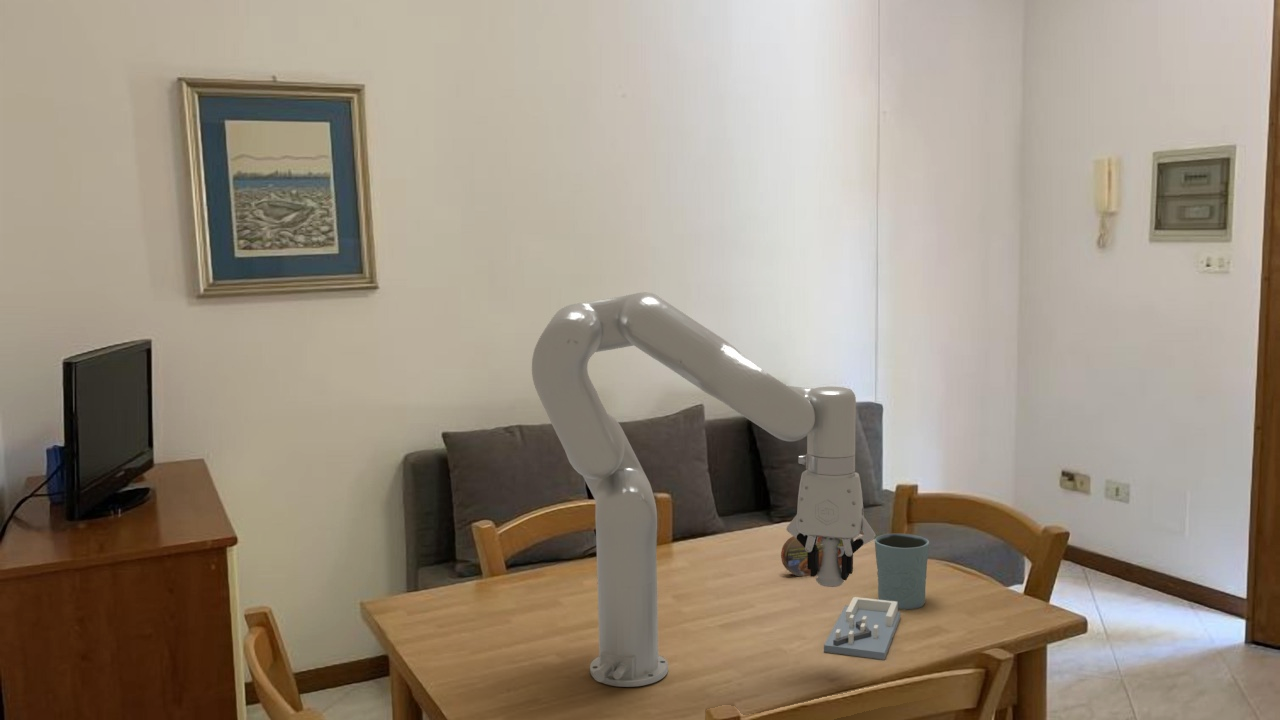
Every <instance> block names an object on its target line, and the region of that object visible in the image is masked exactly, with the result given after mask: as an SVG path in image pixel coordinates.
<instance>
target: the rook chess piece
mask: <svg viewBox="0 0 1280 720" xmlns="http://www.w3.org/2000/svg"><path fill="white" fill-rule="evenodd" d="M820 541H821V543H822V544H823V548H822V551H823V557H822V563H821V566H820V567H819V568H820V569H819V570H818V571H817V575H816V576H817V577H816V578H815V580H816V583H818V585H820V586H822V587H828V588H829V587H830V588H837V587H840V586H842V585H843V584H844V581H845V580H843V579H841V572H842V569H841V568H840V567H839V562H838V551H839V549H838V544H839V543H840V542H841V541H840V539H839V538H828V537H822V538H821V539H820Z"/></svg>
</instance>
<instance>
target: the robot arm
mask: <svg viewBox="0 0 1280 720" xmlns="http://www.w3.org/2000/svg"><path fill="white" fill-rule="evenodd" d="M633 346H634V347H635V348H637V349H639V350H640V351H641V352H642V353H644V354H647V356H649V357H651V358H652V359H654V360H655V361H657V362H659V363H660V364H662V365H663V366H665V367H667V368H668V369H670V370H671V371H673V372H674V373H676V374H677V375H679V376H680V377H682V378H683V379H685V380H686V381H688V382H689V383H691V384H692V385H694V386H695V387H697V388H698V389H699V390H701V391H703V392H704V393H705V394H708V395H709V396H711V397H713V398H715V399H716V400H719V401H720V402H722V403H723V404H725V405H726V406H728V407H730V409H733V410H734V411H735V412H736V413H738V414H740V415H741V416H743V417H744V418H746V419H747V420H749V421H751V422H752V423H753V424H755V425H757V426H758V427H760V428H762V430H765V431H766V432H767V433H769V434H770V435H772V436H774V437H775V438H777V439H779V440H781V441H785V442H797V441H800V440H802V439H804V438H805V437H807V438H806V439H807V443H806V446H807V447H806V448H807V449H806V450H807V451H806V452H807V453H806V454H803V455H798V459H797V461H798V462H797V463H798V464H802V465H803V466H805V469H806V470H804V471H802V473H801V476H800V482H799V487H798V495H797V496H798V497H797V507H796V508H797V509H796V511H797V512H796V515H795V516H794V517H793V519H792V520H791V521H790V523H788V525H787V527H786V528H785V530H786V531H787V532H788V533H789V534H791V536H792V537H793V536H794V537H796V538H797V540H798V541H799V542H800V543H801V544H802V545H803V546H804V548H805V550H806V551H807V552H808V553H807V568H808V569H809V570H811V575H810V577H813V578H814V577H816V576H817V575H816V574H817V571H818V570H819V549H818V548H817V545H816V542H817V538H818V537H828V538H839V539H842V541H843V546H844V554H843V555H842V569H841V571H842V572H841V579H843V580H844V581H847V579H848V578H849V577H850V575H852V574H853V571H854V570H853V569H854V554H855V552H856V551H857V552H858V550H859V549H860V548H861V547H863V546H864V545H867V544H868V543H870V542H871V541H873V540H875V538H876V537H877V536H876V535H877V534H876V533H875V531H874V530H873V528H872V527H871V525H870V524H869V522H868V520H867V519H866V517H865V516H864V504H863V502H864V499H863V491H862V483H861V477H860V474H859V472H856V425H857V424H856V421H857V419H856V418H857V417H856V416H857V415H856V414H857V401H856V394H855V392H854V391H853V390H852V389H850V388H847V387H841V386H818V387H815V388H813V387H801V386H794V385H793V386H792V385H786V384H785V383H783V382H781V381H780V380H779V379H777V378H776V377H775V376H773V375H771V374H769V373H768V372H767V371H765V370H764V369H762V368H761V367H759V366H758V365H756V364H755V363H754V362H753V361H751V360H750V359H749V358H748V357H746V356H745V355H744V354H743V353H742V352H740V350H738V348H736V347H735V346H734V345H732V344H731V343H729V342H728V341H727V340H726V339H724V338H722V337H721V336H720V335H717V334H716V333H715V332H713V331H712V330H710V329H708V328H707V327H705V326H704V325H702V324H701V323H699V321H696V320H695V319H693V318H691V317H690V316H688V315H687V314H686V313H684V312H682V311H681V310H680V309H678V308H677V307H675V306H673V305H672V304H671V303H669V302H667V301H666V300H664V299H663V298H662V297H660V296H658V295H656V294H654V293H653V292H643V291H642V292H637V293H632V294H628V295H627V294H626V295H621V296H617V297H616V296H615V297H611V298H603V299H597V300H592V301H586V302H585V301H584V302H579V303H573V304H569V305H566V306H564V307H562V308H561V309H559V310H558V311H557V312H556V313H555V314H554V315H553V317H551V319H550V321H549V323H548V324H547V325H546V327H545V328H544V330H543V332H542V333H541V335H540V336H539V338H538V341H537V343H536V345H535V347H534V350H533V354H532V359H531V375H532V381H533V385H534V387H535V391H536V393H537V395H538V397H539V400H540V402H541V404H542V406H543V409H544V410H545V412H546V414H547V417H548V419H549V421H550V424H551V425H552V427H553V429H554V432H555V434H556V436H557V437H558V439H559V442H560V443H561V445H562V448H563V450H564V451H565V454H566V457H567V459H568V462H569V463H570V465H571V467H572V468H573V470H575V471H576V472H577V473H578V474H579V475H581V477H583V479H584V482H585V483H586V485H587V488H588V489H589V490H590V493H591V495H592V497H593V499H594V501H595V514H594V515H595V535H596V536H595V537H596V538H595V540H596V544H595V545H596V572H597V573H596V577H597V578H596V579H597V602H598V603H597V607H598V608H597V609H598V613H597V614H598V649H599V654H598V656H597V657H595V658H594V659H593V660H592V661H591V663H590V664H589V665H590V666H589V672H590V676H592V678H593V679H594V680H595V681H596V682H598V683H601V684H604V685H607V686H612V687H619V688H633V687H634V688H636V687H643V686H649V685H651V684H655V683H656V682H658V681H661V680H662V679H664V677H666V675H667V674H668V672H669V664H668V661H667V659H666V658H665V657H663V656H662V655H660V654H659V633H658V632H659V631H658V630H659V629H658V628H659V626H658V625H659V623H658V574H657V573H658V572H657V569H658V567H657V540H658V539H657V537H658V536H657V535H658V511H657V503H656V499H655V497H654V496H655V495H654V493H653V489H652V486H651V483H650V481H649V479H648V477H647V475H646V473H645V471H644V468H643V467H642V465H641V463H640V461H639V459H638V457H637V454H635V453H636V452H635V451H634V450H633V448H632V445H631V444H630V442H629V439H628V437H627V435H626V434H625V431H624V429H623V427H622V426H621V424H620V423H619V422H618V420H617V419H616V418H614V417H613V416H612V415H611V414H609V413H608V412H607V410H606V409H605V407H604V405H603V403H602V401H601V399H600V396H599V395H598V392H597V390H596V387H595V385H594V384H593V383H592V380H591V378H590V376H589V373H588V372H589V371H588V364H589V361H590V359H591V358H592V356H593V355H594V354H595V353H599V352H604V351H611V350H616V349H622V348H623V349H624V348H629V347H633ZM861 531H862V533H863V535H860V534H861ZM858 536H859V537H858Z"/></svg>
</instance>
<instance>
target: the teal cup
mask: <svg viewBox="0 0 1280 720" xmlns="http://www.w3.org/2000/svg"><path fill="white" fill-rule="evenodd" d="M874 549H875V559H876V563H875V564H876V569H877V572H876V574H877V582H878V584H877V590H878V591H877V593H878V594H877V595H878V600H887V601H896V602H898V610H916V609H920V608H922V607H924V605H925V603H926V585H927V584H926V583H927V581H926V579H927V570H928V559H929V553H930V552H929V551H930V541H929V540H928V539H927V538H925V537H923V536H920V535H916V534H911V533H909V534H908V533H885V534H881V535H878V536H876V537H875V538H874Z"/></svg>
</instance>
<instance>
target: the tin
mask: <svg viewBox="0 0 1280 720" xmlns="http://www.w3.org/2000/svg"><path fill="white" fill-rule="evenodd" d="M821 538H822V537H818V538H817V542H816V545H817V548H818V549H819V567H820V566H821V563H822V557H823V551H822V548H823V544H822V543H821V541H820V539H821ZM840 541H841V542H840V543H839V544H838V549H839V551H838V562H839V567H840V568H841V570H842V555H843V554H844V546H843V541H842V539H840ZM807 553H808V552H807V551H806V550H805V548H804V546H803V545H802V544H801V543H800V542H799V541H798V540H797V538H796V537H794V536H793V535H792V536H791V537H789V538H788V539H787V540H786V541H785V542H784V544H783V545H782V548H781V553H780V558H781V562H782V566H783V567H784V569H786V571H788V572H789V573H790V574H792V575H794V576H796V577H799V578H800V577H801V578H802V577H807V576H808V577H809V576H810V577H811V570H809V569H808V568H807ZM819 569H820V568H819ZM816 576H817V574H816Z"/></svg>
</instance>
